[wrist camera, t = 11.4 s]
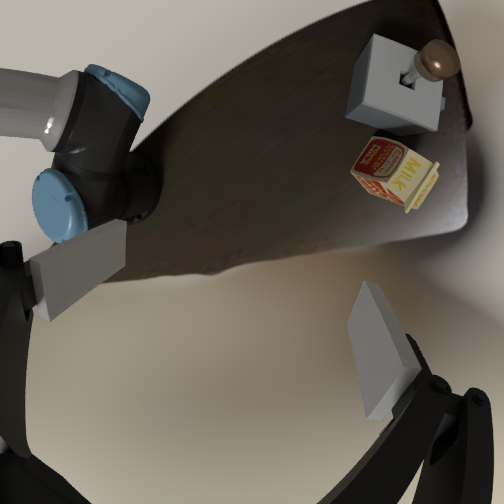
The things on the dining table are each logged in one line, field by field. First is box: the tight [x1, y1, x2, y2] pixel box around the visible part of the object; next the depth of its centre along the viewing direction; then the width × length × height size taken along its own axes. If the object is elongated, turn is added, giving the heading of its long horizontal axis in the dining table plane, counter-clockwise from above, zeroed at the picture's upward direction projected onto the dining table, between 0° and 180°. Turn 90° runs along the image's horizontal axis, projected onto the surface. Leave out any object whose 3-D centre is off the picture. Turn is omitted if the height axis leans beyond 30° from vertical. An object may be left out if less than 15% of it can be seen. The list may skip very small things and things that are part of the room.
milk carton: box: [350, 136, 440, 213], centre depth 35 cm, size 9×9×20 cm
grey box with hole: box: [345, 34, 445, 136], centre depth 33 cm, size 13×11×14 cm
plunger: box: [399, 39, 460, 87], centre depth 27 cm, size 8×8×24 cm
